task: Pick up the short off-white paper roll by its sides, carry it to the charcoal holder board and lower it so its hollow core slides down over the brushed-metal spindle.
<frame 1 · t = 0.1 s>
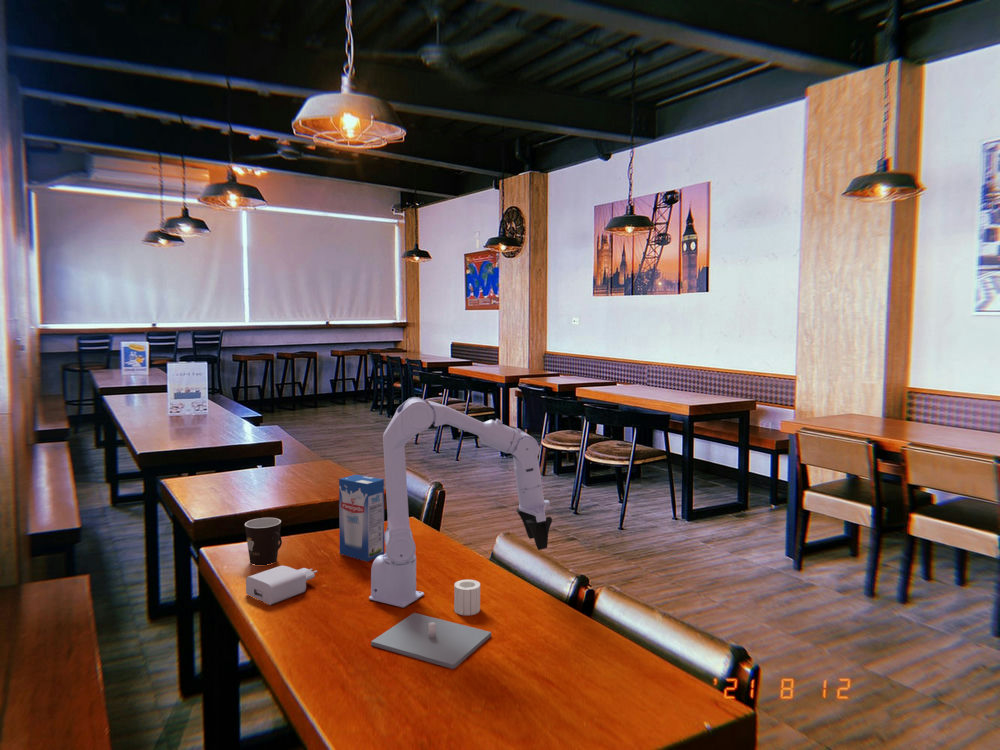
hand: (537, 542, 150), 11 cm above the table, tool pointing down, fingers open, 7 cm apart
paper roll: (467, 609, 139), on the table
milk carton: (361, 555, 172), on the table
coffee mug: (264, 564, 164), on the table
charger: (287, 591, 149), on the table
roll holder: (432, 640, 125), on the table
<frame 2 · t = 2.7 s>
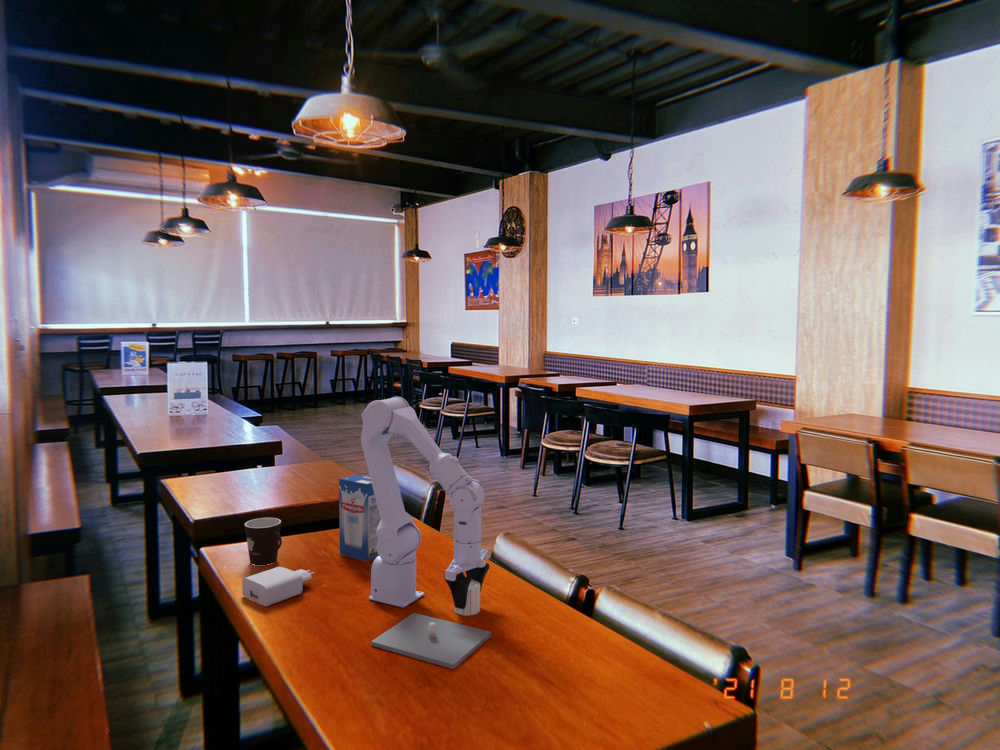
hand: (467, 602, 139), 2 cm above the table, tool pointing down, fingers closed on paper roll, 5 cm apart
paper roll: (467, 609, 139), on the table, touching gripper
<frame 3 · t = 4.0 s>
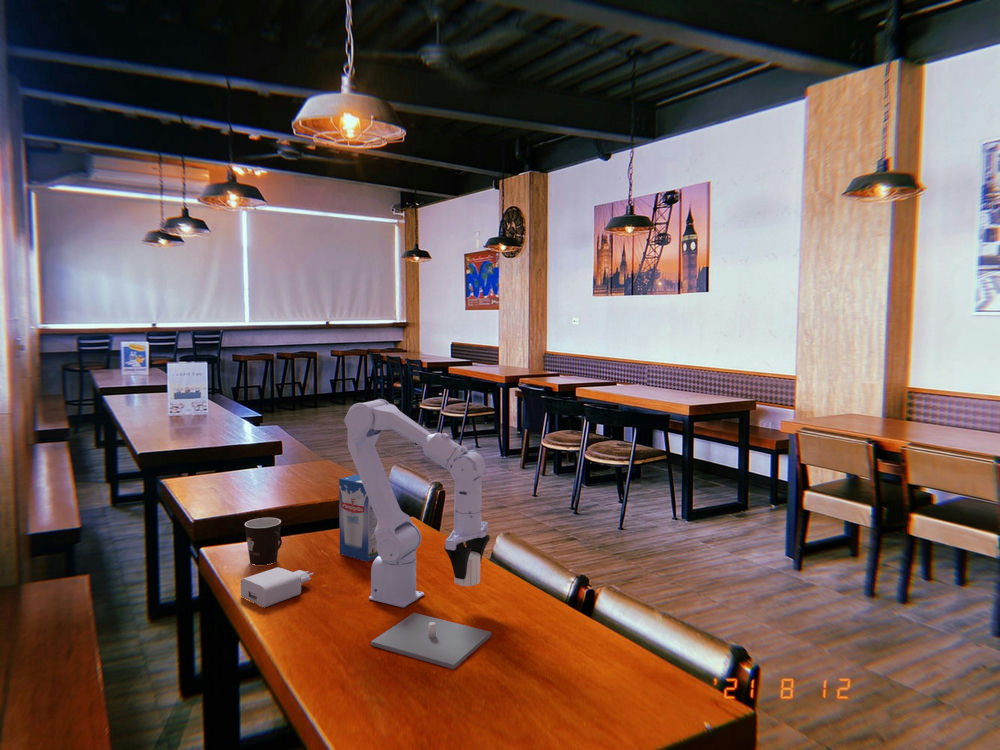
hand: (467, 573, 138), 8 cm above the table, tool pointing down, fingers closed on paper roll, 5 cm apart
paper roll: (467, 581, 138), point 6 cm above the table, touching gripper
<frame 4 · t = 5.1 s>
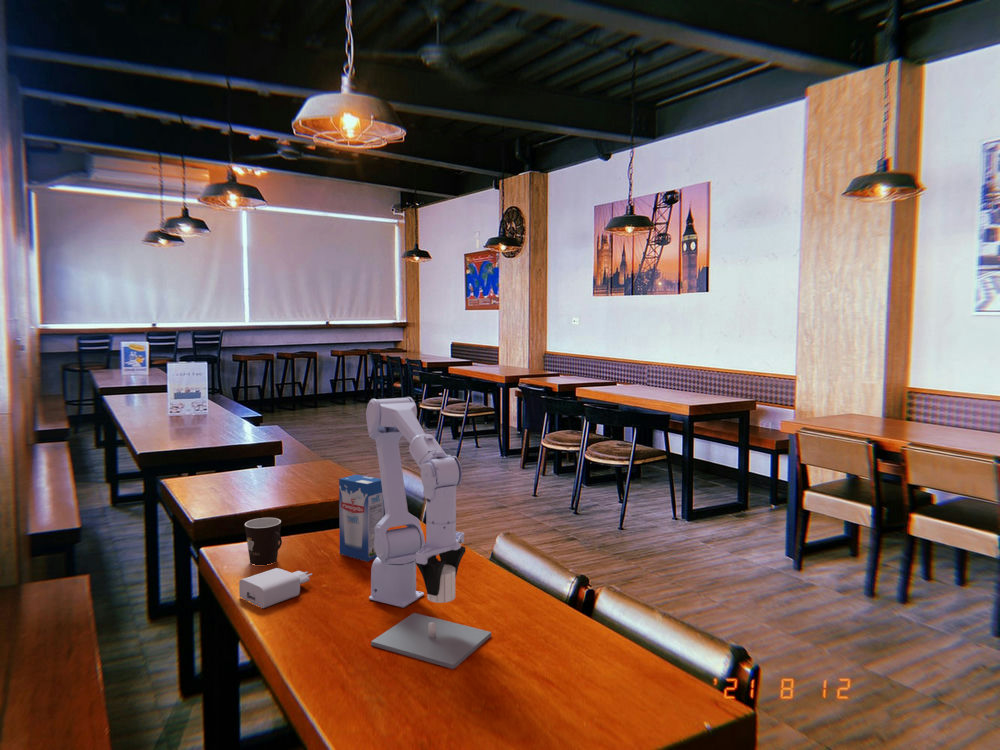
hand: (440, 588, 127), 9 cm above the table, tool pointing down, fingers closed on paper roll, 5 cm apart
paper roll: (441, 596, 128), point 7 cm above the table, touching gripper
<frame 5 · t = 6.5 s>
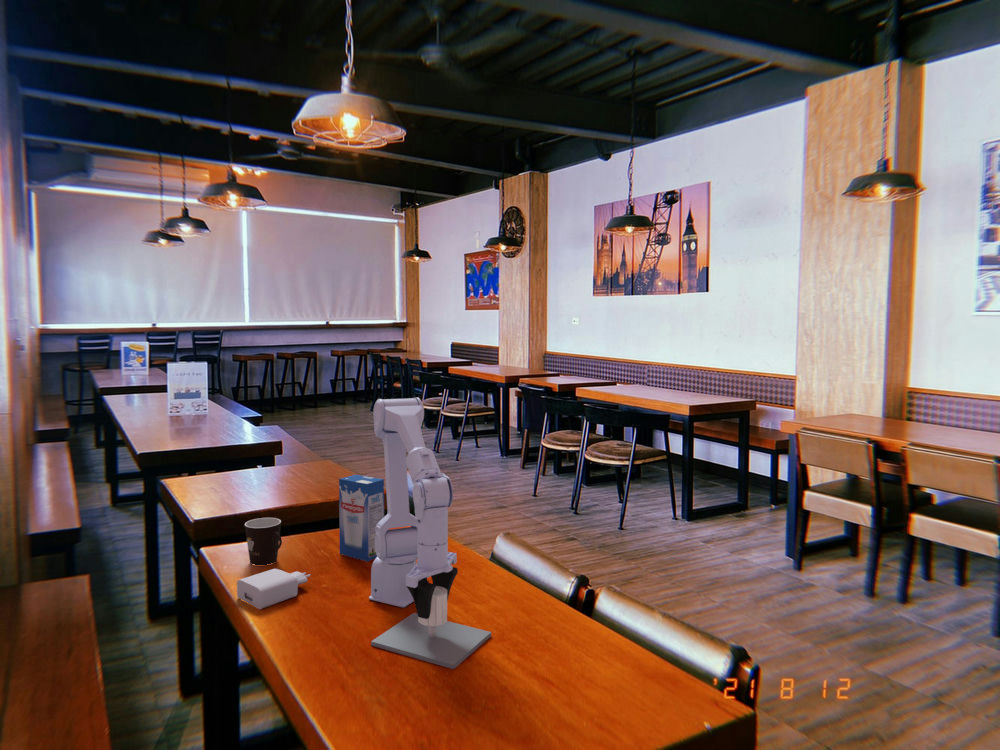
hand: (432, 611, 125), 6 cm above the table, tool pointing down, fingers closed on paper roll, 5 cm apart
paper roll: (432, 619, 125), point 4 cm above the table, touching gripper
when the fingers open (4 cm above the table, at t = 7.5 s): paper roll drops 1 cm, resting on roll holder.
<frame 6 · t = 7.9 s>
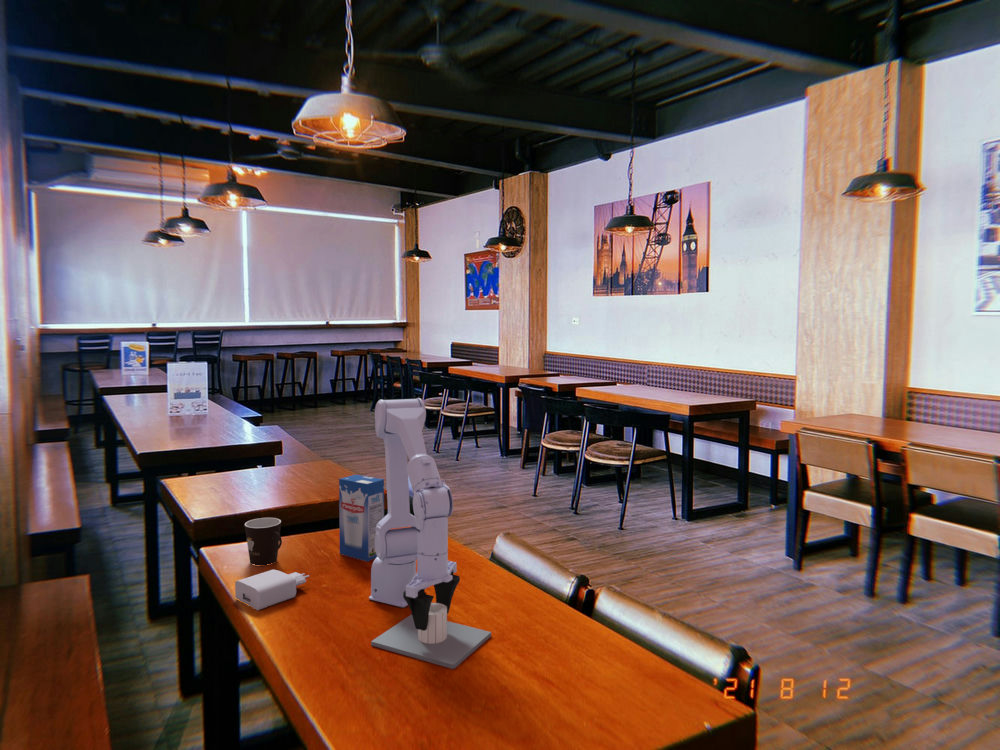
hand: (432, 620, 125), 4 cm above the table, tool pointing down, fingers open, 7 cm apart
paper roll: (432, 636, 125), point 1 cm above the table, touching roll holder
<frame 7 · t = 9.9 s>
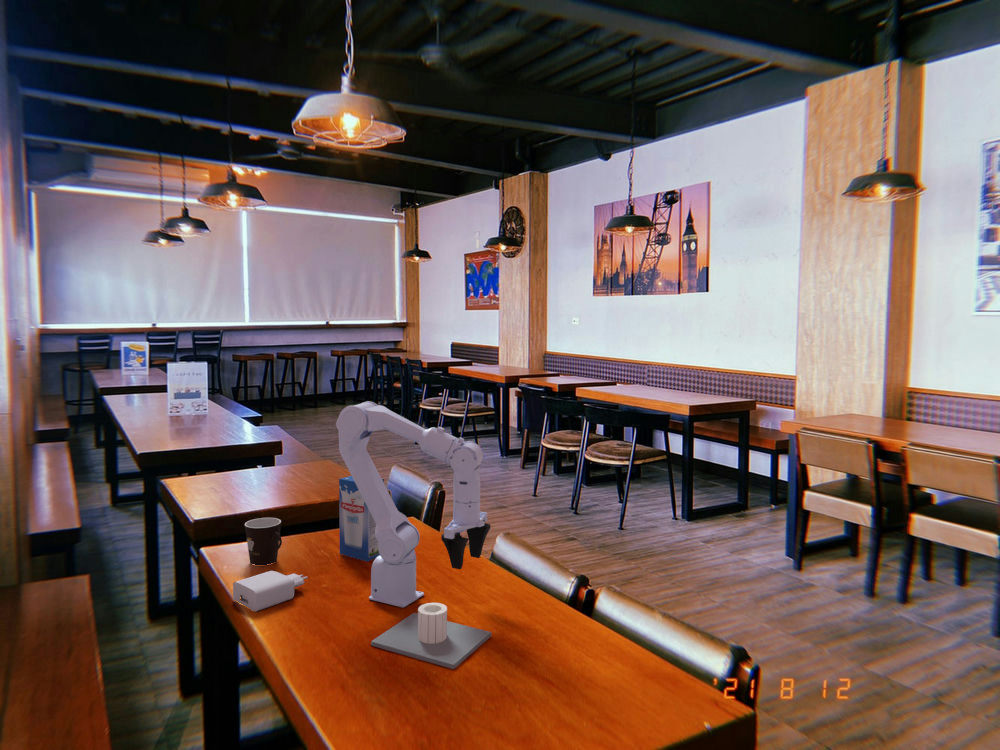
hand: (466, 562, 141), 9 cm above the table, tool pointing down, fingers open, 7 cm apart
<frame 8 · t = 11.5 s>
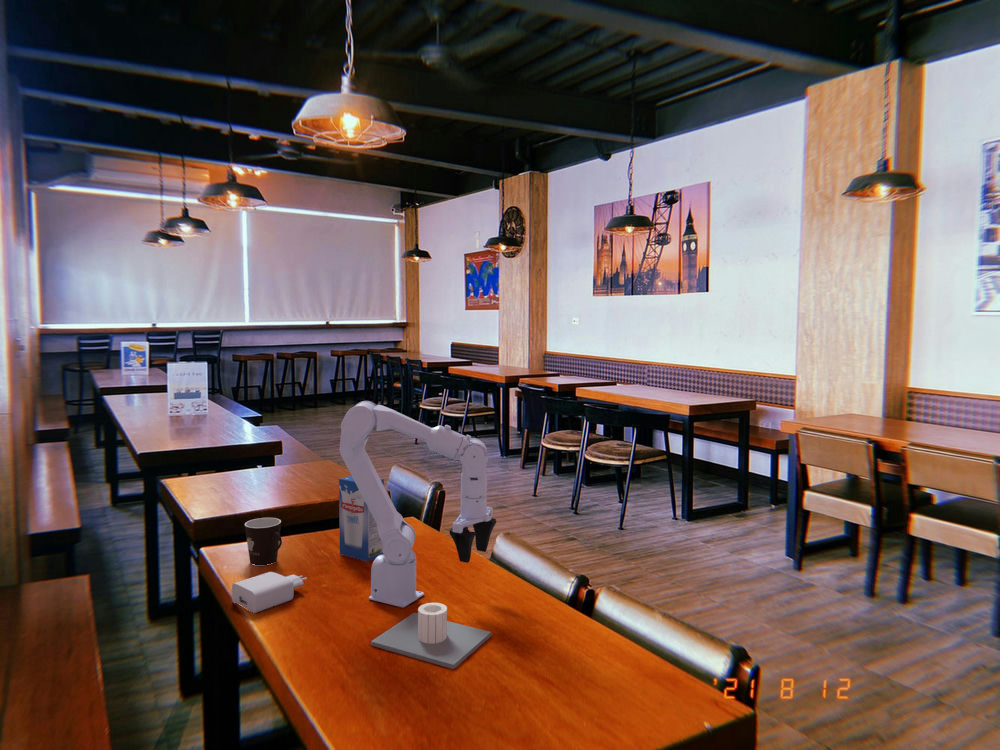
hand: (473, 556, 144), 9 cm above the table, tool pointing down, fingers open, 7 cm apart
at the end: paper roll 0.1 cm off-centre on the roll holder, point 0.8 cm above the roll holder's base; paper roll tilted 0°; the gripper is holding nothing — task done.
